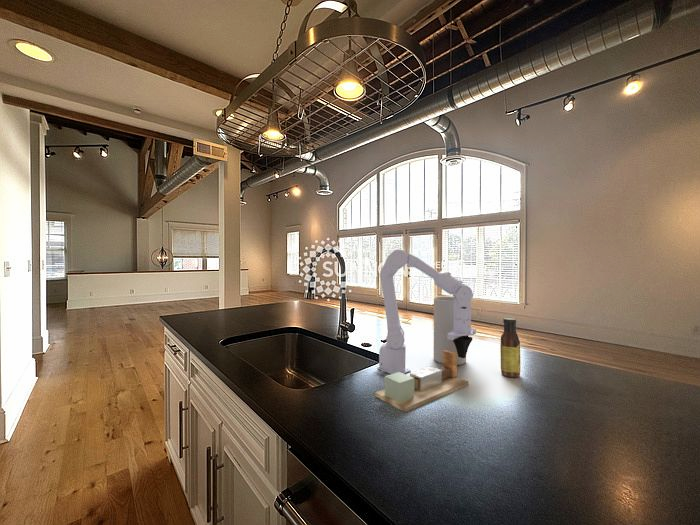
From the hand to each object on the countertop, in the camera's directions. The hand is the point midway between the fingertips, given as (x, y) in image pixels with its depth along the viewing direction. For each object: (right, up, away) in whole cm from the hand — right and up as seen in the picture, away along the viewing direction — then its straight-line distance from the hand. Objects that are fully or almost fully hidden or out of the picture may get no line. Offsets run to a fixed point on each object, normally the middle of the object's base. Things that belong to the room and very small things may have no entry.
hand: (461, 357), depth 108 cm
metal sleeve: (-16, -5, -12) cm, 20 cm away
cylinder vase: (+1, -7, +16) cm, 17 cm away
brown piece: (-13, -5, -10) cm, 17 cm away
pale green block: (-25, -5, -19) cm, 32 cm away
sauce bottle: (+17, -7, +1) cm, 19 cm away
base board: (-16, -6, -13) cm, 22 cm away
